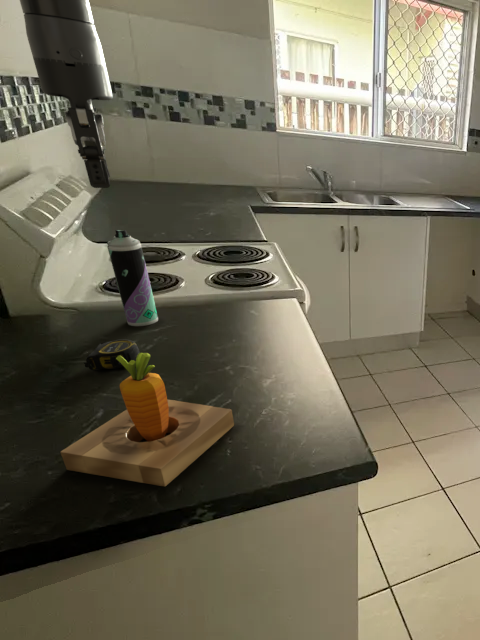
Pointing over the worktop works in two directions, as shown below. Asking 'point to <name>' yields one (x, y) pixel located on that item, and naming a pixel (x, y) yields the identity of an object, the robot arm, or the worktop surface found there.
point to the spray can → (132, 279)
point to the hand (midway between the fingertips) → (101, 182)
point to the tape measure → (112, 354)
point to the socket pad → (149, 445)
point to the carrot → (145, 398)
